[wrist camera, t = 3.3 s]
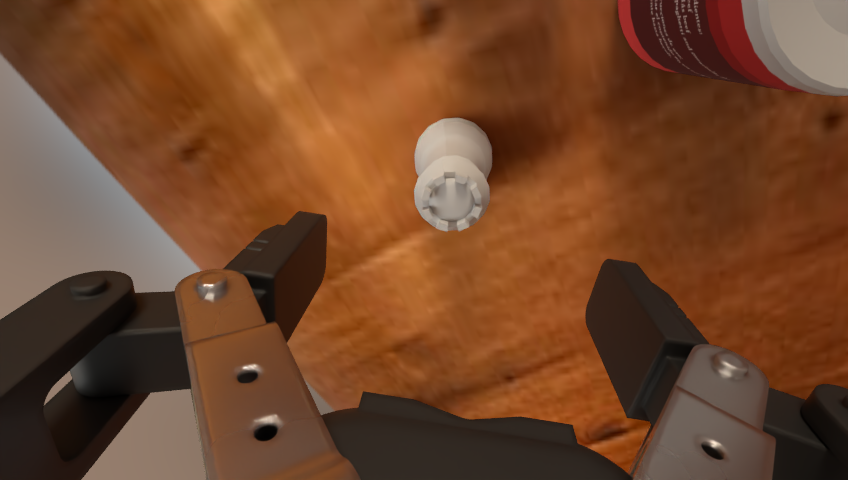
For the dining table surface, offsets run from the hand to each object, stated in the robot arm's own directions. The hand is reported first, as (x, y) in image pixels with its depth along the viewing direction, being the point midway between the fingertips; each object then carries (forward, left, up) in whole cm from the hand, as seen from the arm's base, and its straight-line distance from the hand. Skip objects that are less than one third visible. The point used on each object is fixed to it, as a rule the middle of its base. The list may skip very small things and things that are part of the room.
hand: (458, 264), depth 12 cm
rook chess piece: (0, 0, -14) cm, 14 cm away
